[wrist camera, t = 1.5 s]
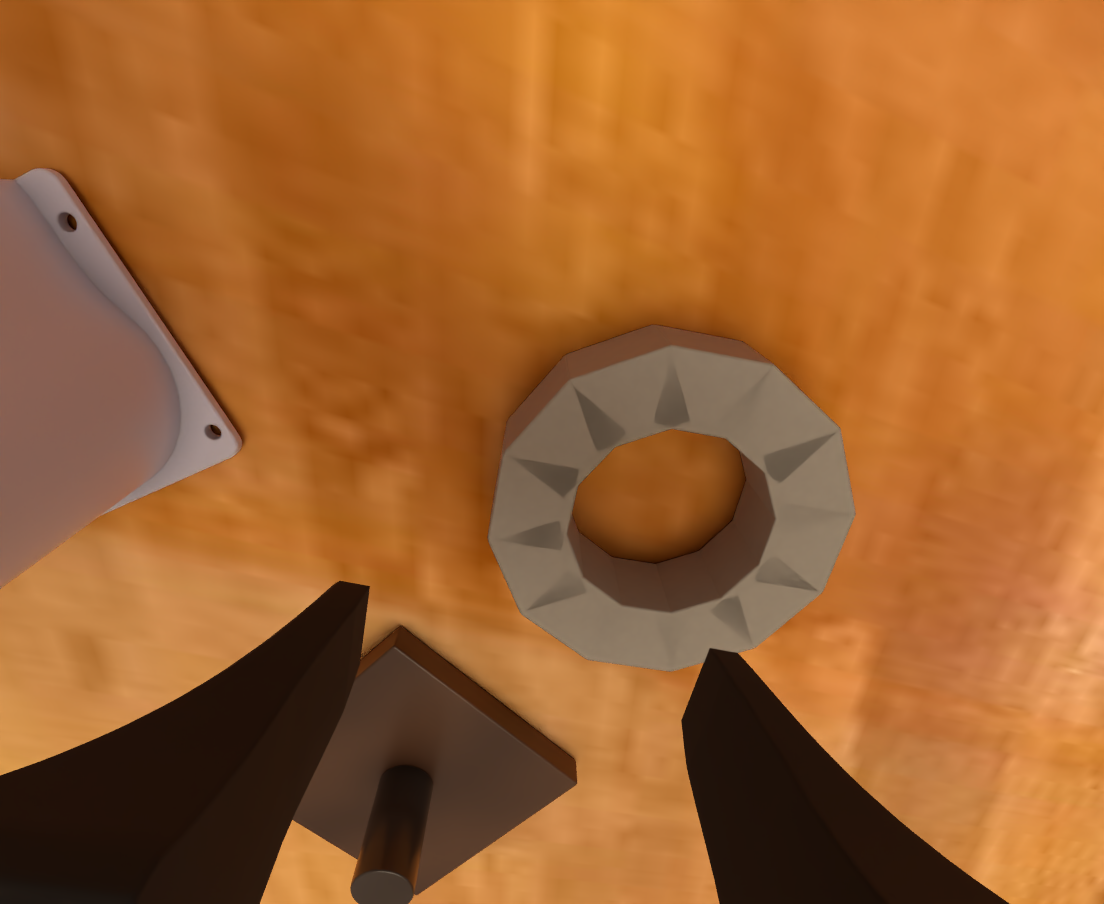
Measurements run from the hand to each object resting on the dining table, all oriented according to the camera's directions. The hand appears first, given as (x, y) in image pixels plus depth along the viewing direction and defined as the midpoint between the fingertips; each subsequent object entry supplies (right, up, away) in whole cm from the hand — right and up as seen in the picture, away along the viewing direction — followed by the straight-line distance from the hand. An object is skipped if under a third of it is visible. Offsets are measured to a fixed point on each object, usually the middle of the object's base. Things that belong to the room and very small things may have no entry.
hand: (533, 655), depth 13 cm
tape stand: (-6, -9, +14) cm, 17 cm away
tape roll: (+4, +3, +9) cm, 10 cm away
